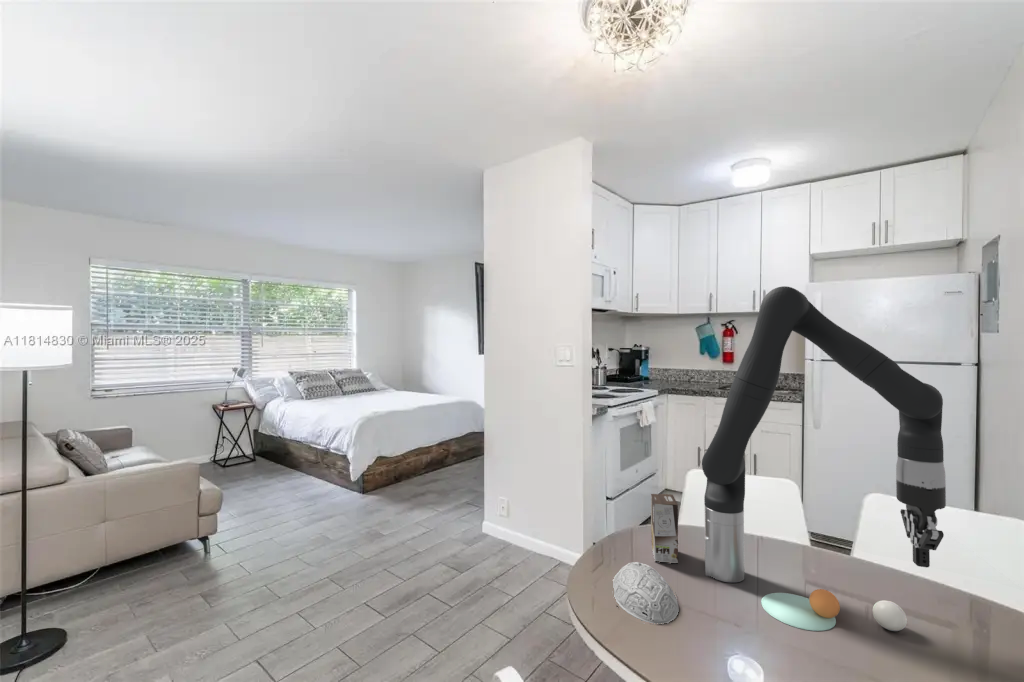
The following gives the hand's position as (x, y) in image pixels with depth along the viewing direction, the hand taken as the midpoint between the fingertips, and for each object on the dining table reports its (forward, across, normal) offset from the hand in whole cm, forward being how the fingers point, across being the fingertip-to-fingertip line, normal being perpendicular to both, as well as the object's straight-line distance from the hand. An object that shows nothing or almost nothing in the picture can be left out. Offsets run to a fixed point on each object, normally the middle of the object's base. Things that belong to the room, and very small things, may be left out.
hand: (921, 565), depth 93 cm
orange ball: (+11, 0, -17) cm, 20 cm away
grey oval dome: (+15, +5, -54) cm, 57 cm away
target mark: (+14, 0, -22) cm, 26 cm away
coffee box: (+14, -17, -51) cm, 56 cm away
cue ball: (+11, 0, -6) cm, 12 cm away
